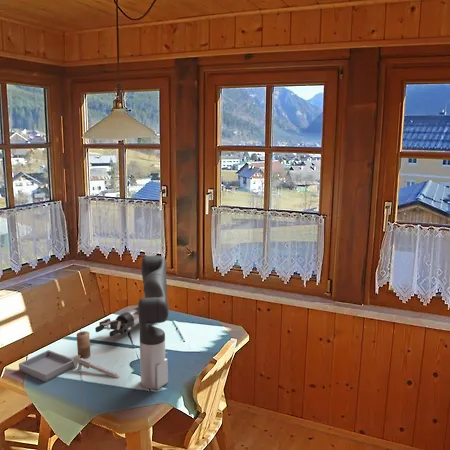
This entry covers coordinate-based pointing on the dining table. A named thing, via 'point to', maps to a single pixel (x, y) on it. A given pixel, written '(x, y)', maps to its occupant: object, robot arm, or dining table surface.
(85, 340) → the cylinder
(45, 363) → the tray
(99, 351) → the dining table surface
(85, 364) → the caliper
